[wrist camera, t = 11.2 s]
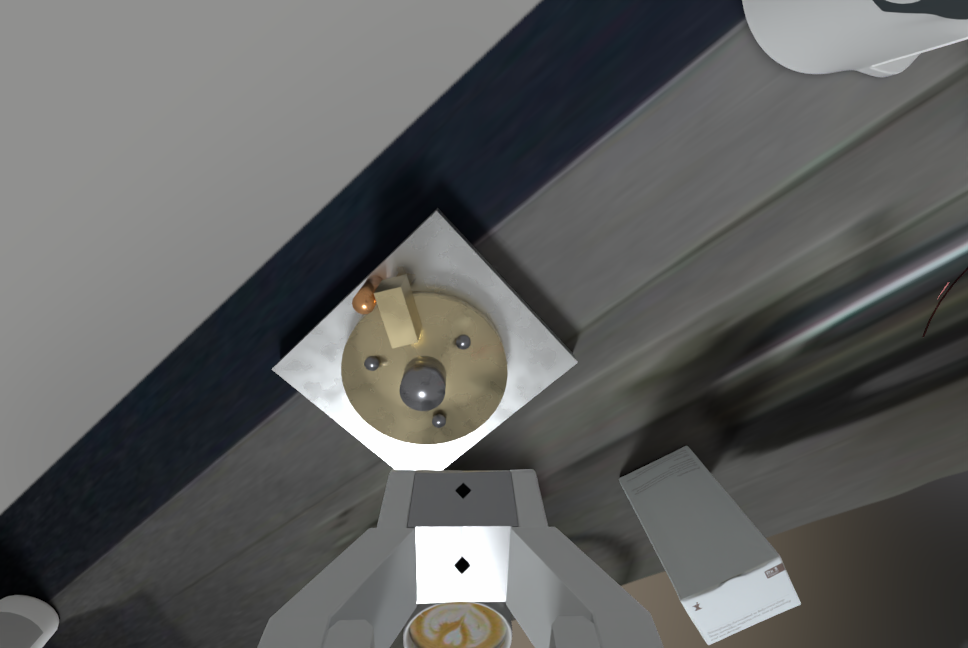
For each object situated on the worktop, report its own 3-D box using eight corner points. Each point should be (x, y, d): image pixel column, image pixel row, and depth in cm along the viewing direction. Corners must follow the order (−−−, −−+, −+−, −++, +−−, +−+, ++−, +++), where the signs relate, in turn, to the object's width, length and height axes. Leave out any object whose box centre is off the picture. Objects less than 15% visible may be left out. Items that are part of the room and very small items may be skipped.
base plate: (437, 207, 38) (432, 219, 31) (572, 353, 43) (592, 389, 37) (280, 359, 42) (246, 398, 36) (420, 475, 47) (413, 527, 41)
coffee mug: (445, 595, 54) (441, 689, 44) (395, 540, 50) (380, 629, 41) (546, 546, 52) (565, 635, 42) (502, 486, 48) (511, 567, 39)
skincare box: (637, 513, 50) (703, 652, 36) (615, 474, 48) (677, 605, 34) (709, 480, 49) (806, 611, 35) (690, 439, 47) (785, 560, 33)
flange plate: (520, 416, 43) (527, 449, 38) (374, 449, 43) (363, 485, 39) (480, 251, 37) (483, 266, 32) (313, 292, 38) (292, 312, 33)
